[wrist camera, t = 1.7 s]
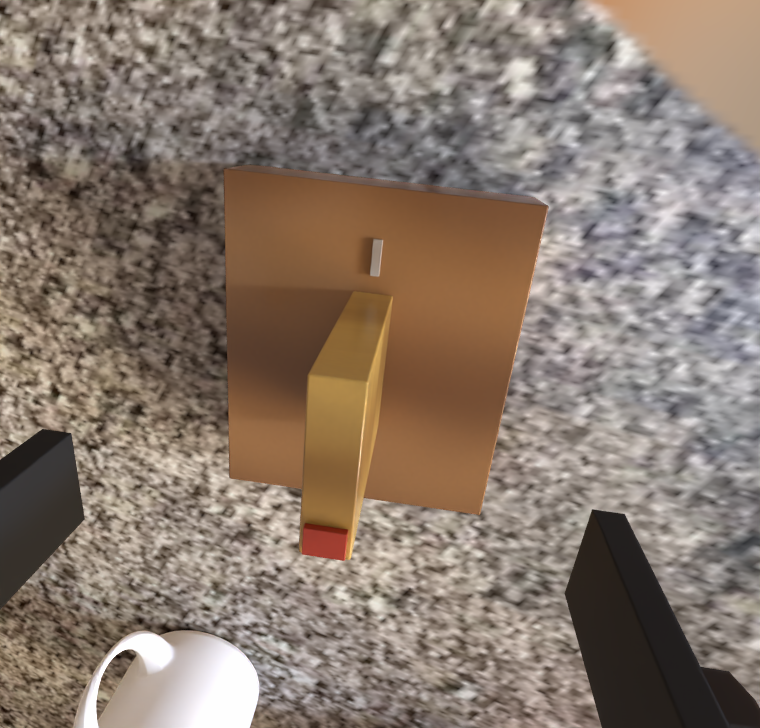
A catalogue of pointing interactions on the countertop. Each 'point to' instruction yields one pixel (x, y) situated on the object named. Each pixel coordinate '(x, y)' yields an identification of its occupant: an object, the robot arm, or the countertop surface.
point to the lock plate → (407, 322)
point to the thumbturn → (342, 425)
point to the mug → (175, 684)
